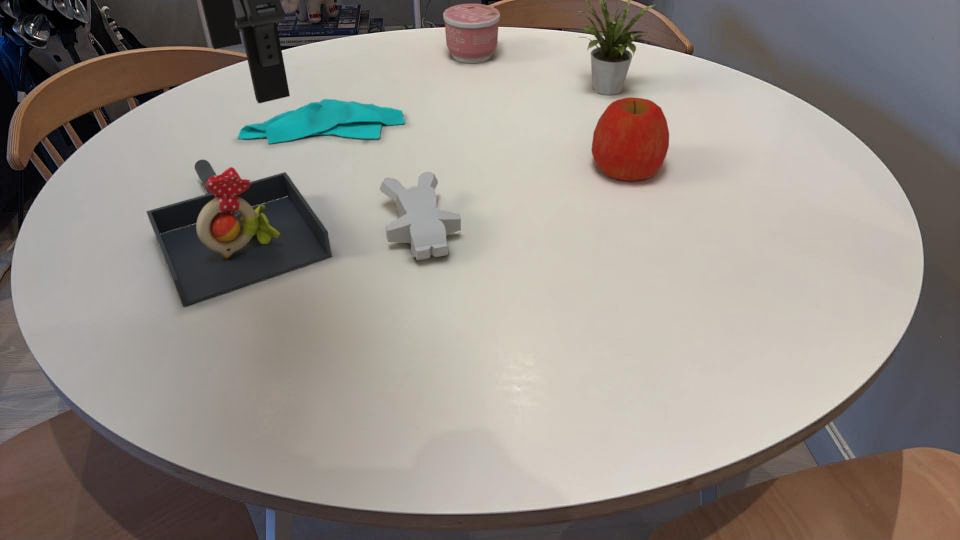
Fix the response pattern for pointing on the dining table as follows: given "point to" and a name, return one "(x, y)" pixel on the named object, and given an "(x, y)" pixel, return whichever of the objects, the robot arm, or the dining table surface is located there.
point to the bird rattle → (231, 216)
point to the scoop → (214, 275)
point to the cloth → (325, 121)
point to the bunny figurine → (420, 217)
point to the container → (471, 32)
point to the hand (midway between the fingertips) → (248, 70)
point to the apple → (631, 139)
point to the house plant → (611, 49)
